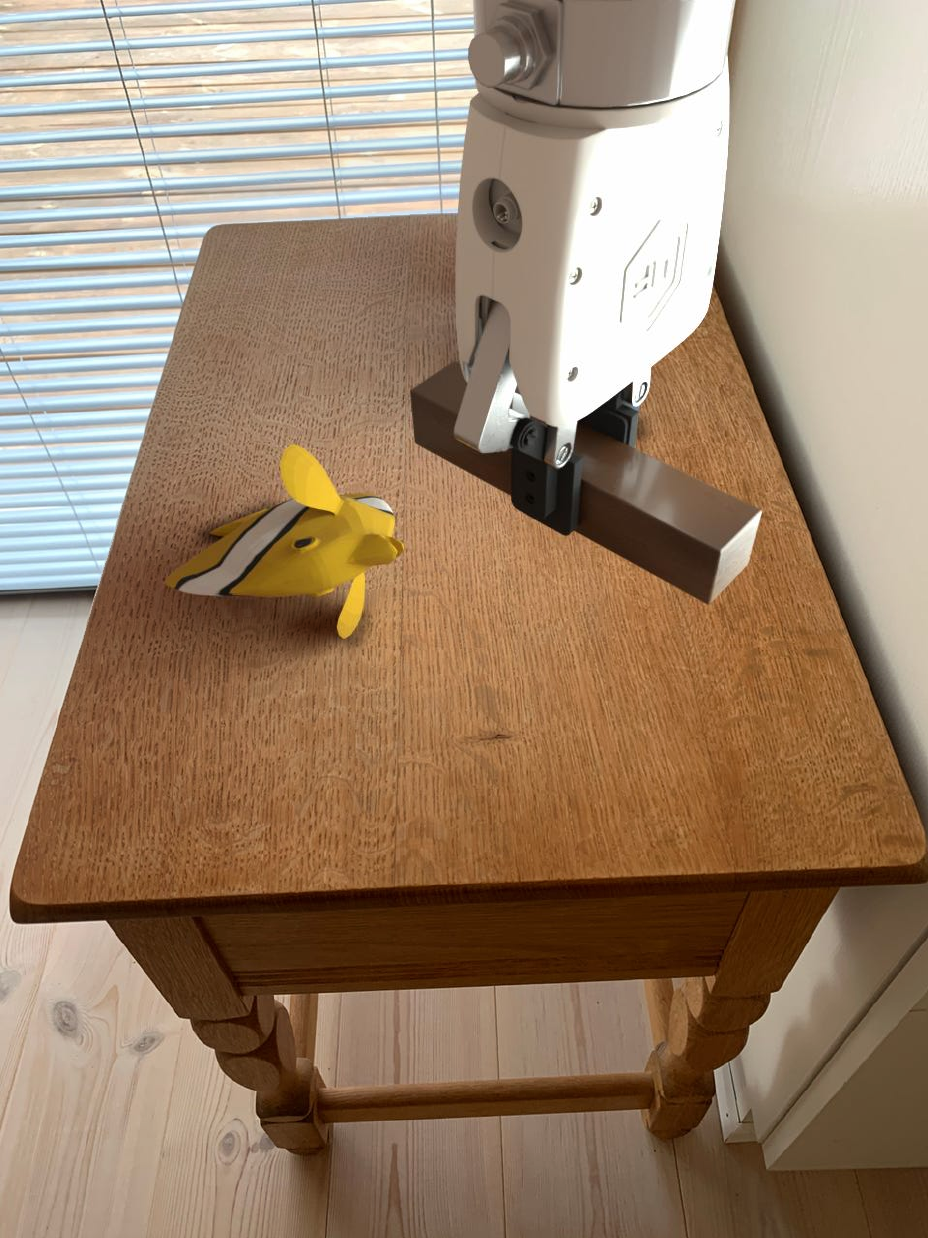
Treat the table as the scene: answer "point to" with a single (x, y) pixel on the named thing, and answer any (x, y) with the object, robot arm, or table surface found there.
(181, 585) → the fish
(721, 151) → the robot arm
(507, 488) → the stick
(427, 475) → the table surface
